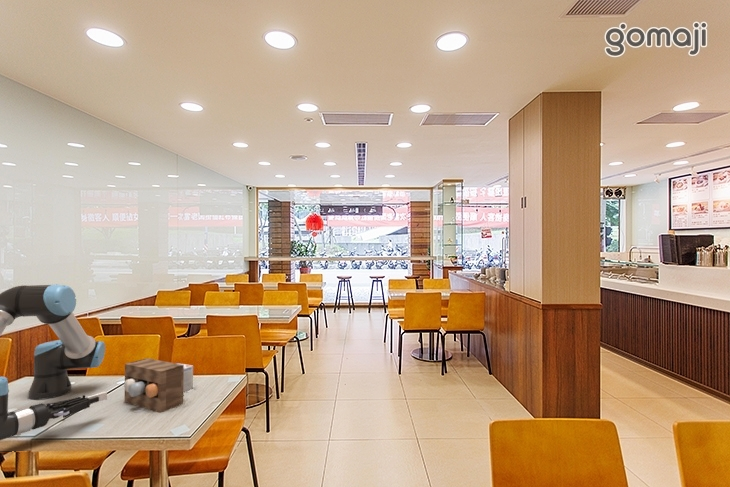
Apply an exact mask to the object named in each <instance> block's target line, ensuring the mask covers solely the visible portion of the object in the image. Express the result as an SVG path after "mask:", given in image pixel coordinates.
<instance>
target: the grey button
mask: <svg viewBox="0 0 730 487" xmlns="http://www.w3.org/2000/svg"><path fill="white" fill-rule="evenodd" d="M146 386H147V383H145V384H144V382H142V381H140V382H137V383H134V384H130V385H129V388H128V392H129V395H130V396H131V397H134V396H137V395H140V394H143V393H144V392H145V389H146Z"/></svg>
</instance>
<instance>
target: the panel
mask: <svg viewBox="0 0 730 487" xmlns="http://www.w3.org/2000/svg"><path fill="white" fill-rule="evenodd" d="M180 364H181V363H180ZM180 364H176V363H174V362H170V361H163V360H158V359H154V358H149V357H148V358H143V359H140V360H135V361H132V362H131V361H130V362H126V363H124V382H125V381H126V380H128V379H132V378H137V379H136V383H137V382H140V381H142V382H143V380H145V381H147V385H150V384H153V383H158V395H157V396H154V397H151V398H149V397H148V396H147V395H146V392H144V393H143V394H140V395H137V396H134V397H131V396H130V395H129V392H127V391H126V390H125V389H124V403H127V404H130V405H135V406H138V407H141V408H145V409H148V410H152V411H155V412H159V413H163V412H166V411H169V410H170V409H173V408H175V407H176V408H177V406H180V405H183V404H184V392H183V378H184V365H180Z"/></svg>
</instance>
